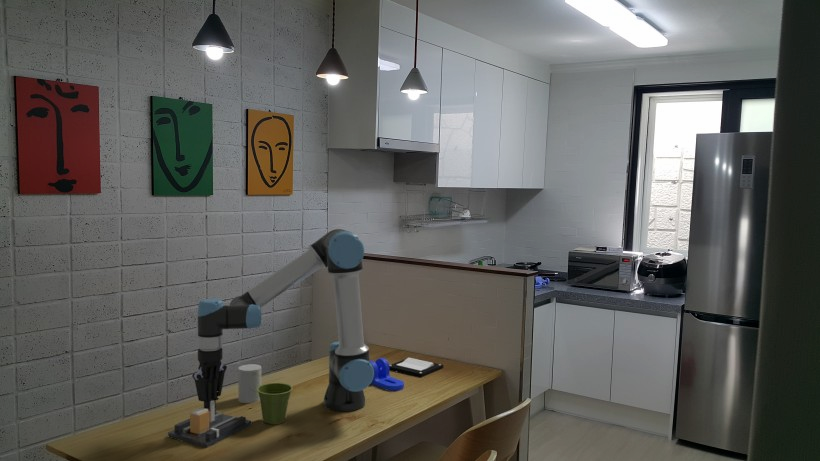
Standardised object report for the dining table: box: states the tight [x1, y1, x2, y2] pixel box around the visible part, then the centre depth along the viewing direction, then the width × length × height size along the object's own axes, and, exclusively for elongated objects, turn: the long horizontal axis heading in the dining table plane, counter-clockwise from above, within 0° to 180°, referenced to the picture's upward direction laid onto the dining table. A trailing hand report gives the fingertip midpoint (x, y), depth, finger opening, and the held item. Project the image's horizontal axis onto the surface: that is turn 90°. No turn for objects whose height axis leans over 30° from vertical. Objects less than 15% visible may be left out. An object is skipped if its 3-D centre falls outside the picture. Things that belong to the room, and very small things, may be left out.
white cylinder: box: [237, 363, 262, 404], centre depth 227 cm, size 8×8×12 cm
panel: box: [167, 412, 252, 448], centre depth 197 cm, size 16×20×3 cm
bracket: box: [370, 357, 405, 392], centre depth 248 cm, size 18×8×9 cm, turn 45°
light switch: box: [389, 357, 444, 378], centre depth 271 cm, size 18×3×18 cm
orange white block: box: [189, 407, 209, 434], centre depth 193 cm, size 4×4×7 cm
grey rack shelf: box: [174, 409, 247, 440], centre depth 197 cm, size 16×16×2 cm
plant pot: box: [257, 382, 294, 425], centre depth 207 cm, size 12×12×11 cm
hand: (209, 420), depth 197 cm, fingers closed
